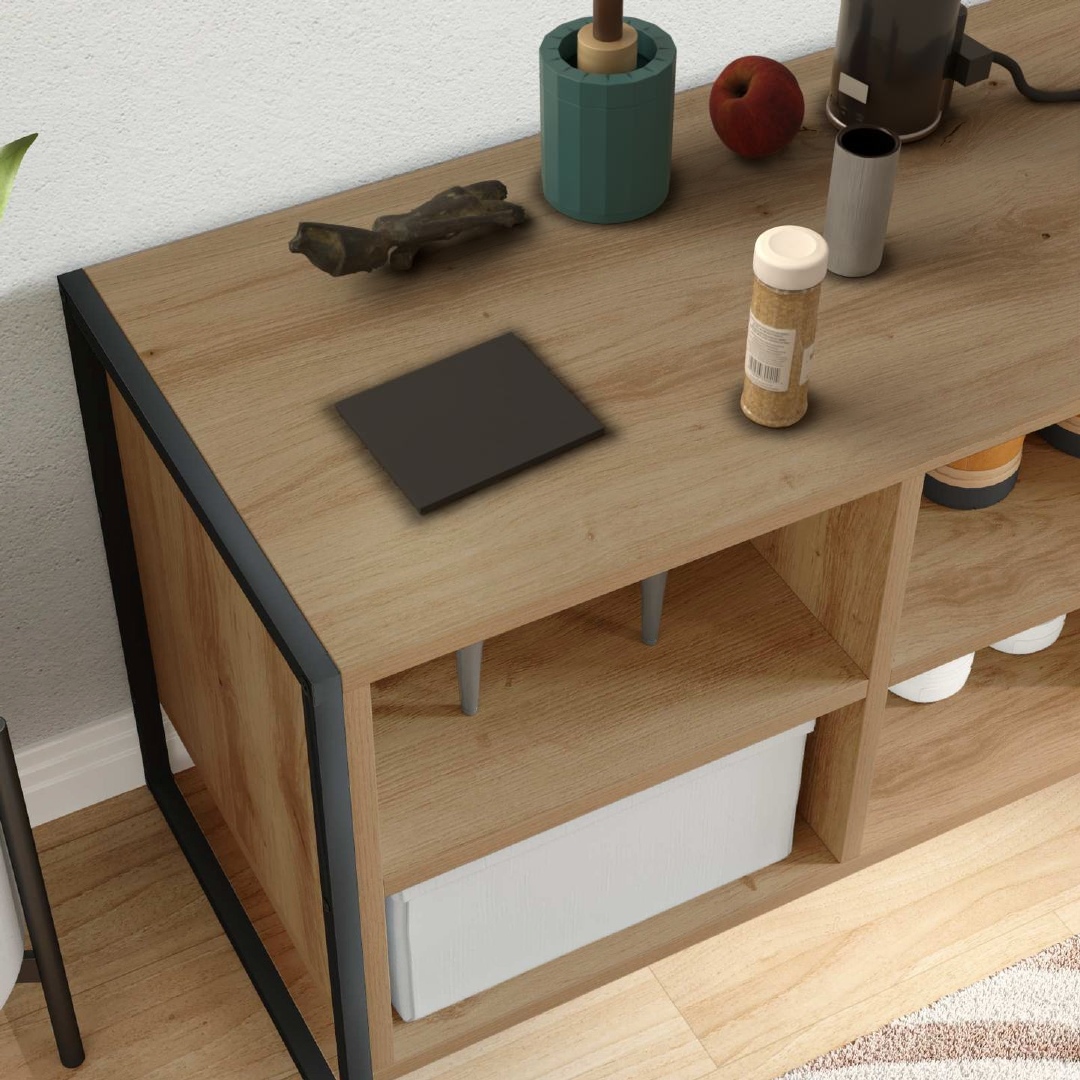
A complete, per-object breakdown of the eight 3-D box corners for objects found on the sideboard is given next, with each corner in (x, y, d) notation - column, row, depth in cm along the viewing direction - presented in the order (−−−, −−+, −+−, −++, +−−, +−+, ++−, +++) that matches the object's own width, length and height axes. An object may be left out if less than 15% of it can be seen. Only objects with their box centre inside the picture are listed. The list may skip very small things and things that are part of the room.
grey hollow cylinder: (842, 284, 116) (861, 163, 108) (807, 252, 118) (823, 132, 111) (893, 266, 117) (914, 146, 110) (857, 235, 120) (876, 115, 112)
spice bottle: (820, 413, 106) (845, 249, 96) (767, 439, 104) (787, 275, 95) (777, 376, 109) (797, 213, 99) (725, 401, 107) (740, 238, 97)
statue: (490, 228, 126) (272, 283, 115) (492, 161, 123) (268, 212, 112) (540, 253, 122) (318, 313, 111) (542, 185, 119) (315, 239, 108)
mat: (511, 337, 112) (511, 331, 112) (604, 434, 105) (604, 427, 105) (335, 409, 107) (334, 402, 107) (420, 515, 100) (419, 508, 100)
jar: (622, 138, 130) (626, 2, 121) (694, 197, 124) (702, 58, 115) (519, 176, 126) (514, 38, 117) (587, 238, 120) (588, 98, 111)
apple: (689, 136, 130) (694, 47, 124) (772, 115, 132) (781, 26, 126) (730, 183, 125) (738, 92, 119) (816, 160, 127) (828, 70, 121)
